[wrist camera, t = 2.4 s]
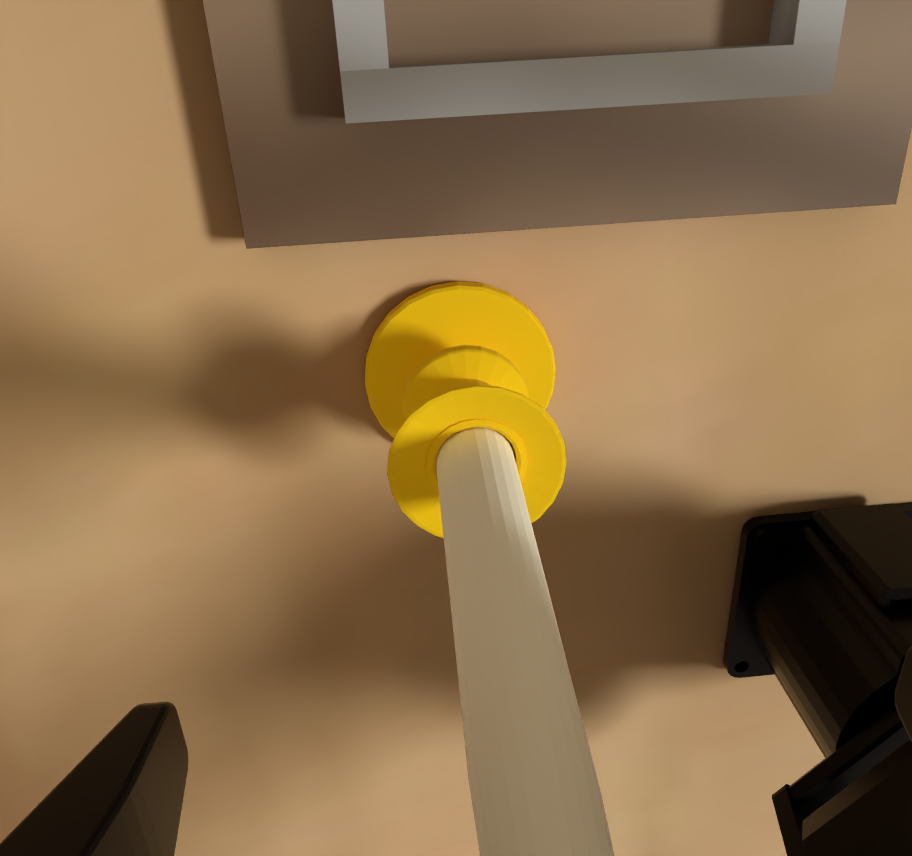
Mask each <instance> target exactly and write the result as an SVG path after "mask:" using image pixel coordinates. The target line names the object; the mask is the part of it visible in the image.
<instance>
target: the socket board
mask: <svg viewBox="0 0 912 856" xmlns="http://www.w3.org/2000/svg"><path fill="white" fill-rule="evenodd" d="M203 5H204V11H205V16H206V22H207V28H208V33H209V39H210V45H211V50H212V56H213V62H214V67H215V73H216V79H217V84H218V90H219V96H220V101H221V107H222V113H223V118H224V124H225V130H226V136H227V141H228V147H229V153H230V158H231V164H232V170H233V175H234V181H235V187H236V192H237V198H238V204H239V209H240V215H241V221H242V226H243V232H244V238H245V243H246V249H248V248H263V247H278V246H292V245H307V244H321V243H336V242H351V241H365V240H380V239H394V238H409V237H423V236H438V235H453V234H467V233H482V232H496V231H511V230H525V229H540V228H555V227H569V226H584V225H598V224H613V223H628V222H642V221H657V220H671V219H686V218H700V217H715V216H730V215H744V214H759V213H773V212H788V211H802V210H817V209H832V208H846V207H861V206H875V205H890V204H896V201H897V196H898V191H899V186H900V181H901V177H902V172H903V167H904V162H905V157H906V152H907V148H908V143H909V138H910V133H911V128H912V0H203Z"/></svg>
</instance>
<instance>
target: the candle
mask: <svg viewBox="0 0 912 856" xmlns="http://www.w3.org/2000/svg"><path fill="white" fill-rule="evenodd" d="M555 375H556V370H555V362H554V353H553V349H552V346H551V344H550V342H549V339H548V337H547V334H546V332H545V330H544V328H543V326H542V324H541V323H540V321H539V320H538V319H537V318H536V316H535V315H534V314H533V313H532V312H531V310H530V309H529V308H528V307H527V305H525V304H524V303H522V302H521V301H519V300H518V299H516V298H515V297H514V296H512V295H511V294H509V293H508V292H506V291H504V290H501V289H498V288H495V287H492V286H489V285H486V284H484V283H474V282H461V281H455V282H449V283H444V284H438V285H433V286H430V287H427V288H425V289H423V290H421V291H419V292H417V293H415V294H412V295H410V296H408V297H407V298H406V299H404V300H403V301H402V302H401V303H400V304H398V305H397V306H396V307H395V308H394V309H392V310H391V311H390V312H389V313H388V314H387V315H386V317H385V318H384V320H383V321H382V323H381V324H380V325H379V327H378V328H377V330H376V331H375V333H374V335H373V338H372V341H371V344H370V347H369V350H368V353H367V355H366V369H365V387H366V391H367V395H368V400H369V404H370V407H371V409H372V411H373V412H374V414H375V416H376V418H377V419H378V421H379V423H380V425H381V426H382V427H383V428H384V429H385V430H386V431H387V432H388V433H389V434H390V435H391V436H392V437H393V438H394V440H393V442H392V445H391V448H390V450H389V456H388V472H387V475H388V479H389V483H390V487H391V491H392V495H393V496H394V498H395V500H396V501H397V503H398V505H399V506H400V508H401V510H402V512H403V513H404V514H406V515H407V516H408V517H409V518H410V519H411V520H412V521H413V522H414V523H415V524H416V525H417V526H419V527H421V528H422V529H424V530H426V531H428V532H430V533H432V534H433V535H435V536H438V537H442V538H444V547H445V556H446V566H447V576H448V585H449V595H450V605H451V614H452V624H453V634H454V643H455V653H456V663H457V672H458V682H459V692H460V701H461V711H462V721H463V730H464V740H465V750H466V759H467V769H468V779H469V786H470V792H471V799H472V805H473V812H474V818H475V824H476V831H477V837H478V844H479V850H480V856H614V853H613V848H612V843H611V838H610V834H609V829H608V824H607V819H606V815H605V810H604V805H603V800H602V796H601V792H600V788H599V784H598V780H597V776H596V772H595V768H594V765H593V761H592V757H591V753H590V749H589V745H588V741H587V737H586V734H585V730H584V726H583V722H582V718H581V714H580V710H579V706H578V702H577V699H576V695H575V691H574V687H573V683H572V679H571V675H570V671H569V668H568V664H567V660H566V656H565V652H564V648H563V644H562V640H561V637H560V633H559V629H558V625H557V621H556V617H555V613H554V609H553V606H552V602H551V598H550V594H549V590H548V586H547V582H546V578H545V575H544V571H543V567H542V563H541V559H540V555H539V551H538V547H537V544H536V540H535V536H534V532H533V528H532V524H531V523H533V522H534V521H536V520H537V519H538V518H540V517H541V516H542V514H543V513H544V512H545V511H546V510H547V509H548V508H549V506H550V505H551V504H552V503H553V502H554V500H555V498H556V496H557V494H558V492H559V490H560V488H561V486H562V484H563V480H564V474H565V469H566V464H567V462H566V454H565V445H564V441H563V439H562V436H561V434H560V432H559V430H558V427H557V425H556V423H555V421H554V420H553V419H552V418H551V417H550V416H549V415H548V413H547V412H546V411H545V410H546V408H547V405H548V403H549V401H550V399H551V397H552V393H553V387H554V381H555Z"/></svg>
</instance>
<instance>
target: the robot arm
mask: <svg viewBox="0 0 912 856" xmlns="http://www.w3.org/2000/svg"><path fill="white" fill-rule="evenodd" d="M761 530H764V532H763V533H762V534H761V535H758V536H755V535H756V533H758V532H759V531H761ZM739 662H741V663H739ZM723 663H724V666H725V667H726V669H727V671H728V673H729V674H730V675H731V676H733V677H738V678H741V677H751V676H762V675H772V674H775V675H776V677H777V679H778V680H779V682H780V684H781V685H782V687H783V689H784V690H785V692H786V694H787V695H788V697H789V699H790V700H791V702H792V704H793V705H794V707H795V709H796V710H797V712H798V714H799V715H800V717H801V719H802V720H803V722H804V724H805V725H806V727H807V728H808V730H809V732H810V733H811V735H812V737H813V738H814V740H815V742H816V743H817V745H818V747H819V748H820V750H821V752H822V753H823V755H824V757H825V759H824V760H822V761H821V762H820V763H819V764H817V765H816V766H815V767H813V768H812V769H811V770H810V771H808V772H807V773H806V774H804V775H803V776H802V777H801V778H799V779H798V780H797V781H796V782H794V783H793V784H792V785H788V784H786V785H784V786H783V787H782V788H781V789H779V790H778V791H777V792H776V793H774V794H773V795H772V800H773V803H774V807H775V811H776V815H777V819H778V822H779V826H780V830H781V834H782V837H783V841H784V845H785V849H786V853H787V856H912V503H907V504H896V505H895V504H883V505H872V506H860V507H848V508H837V509H825V510H820V511H815V512H803V513H792V514H780V515H769V516H758V517H754V518H752V519H750V520H749V521H747V522H746V524H745V525H744V526H743V529H742V533H741V540H740V547H739V554H738V561H737V568H736V574H735V581H734V588H733V595H732V602H731V609H730V616H729V623H728V630H727V637H726V644H725V651H724V658H723ZM737 663H739V664H737ZM187 771H188V750H187V746H186V742H185V739H184V735H183V731H182V728H181V724H180V720H179V717H178V713H177V710H176V708H175V706H174V705H173V704H172V703H170V702H158V703H145V704H140V705H137V706H136V707H134V708H133V709H132V710H131V711H130V712H129V713H128V714H127V715H126V716H125V717H124V718H123V719H122V720H121V721H120V722H119V723H118V724H117V725H116V726H115V727H114V728H113V729H112V730H111V731H110V732H109V733H108V734H107V735H106V736H105V737H104V738H103V739H102V740H101V741H100V742H99V743H98V744H97V745H96V746H95V747H94V748H93V749H92V750H91V751H90V752H89V753H88V754H87V755H86V756H85V758H84V759H83V760H82V761H81V762H80V763H79V764H78V765H77V766H76V767H75V768H74V769H73V770H72V771H71V772H70V773H69V774H68V775H67V776H66V777H65V778H64V779H63V780H62V781H61V782H60V783H59V784H58V785H57V786H56V787H55V788H54V789H53V790H52V791H51V792H50V793H49V794H48V795H47V796H46V797H45V798H44V799H43V800H42V801H41V802H40V803H39V804H38V805H37V807H36V808H35V809H34V810H33V811H32V812H31V813H30V814H29V815H28V816H27V817H26V818H25V819H24V820H23V821H22V822H21V823H20V824H19V825H18V826H17V827H16V828H15V829H14V830H13V831H12V832H11V833H10V834H9V835H8V836H7V837H6V838H5V839H4V840H3V841H2V842H1V843H0V856H174V853H175V847H176V840H177V834H178V828H179V821H180V815H181V809H182V803H183V796H184V790H185V784H186V777H187Z"/></svg>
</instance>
